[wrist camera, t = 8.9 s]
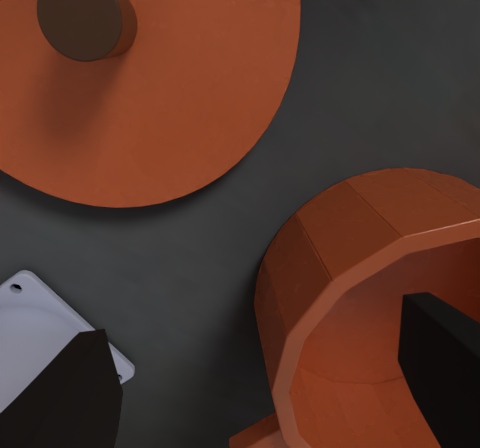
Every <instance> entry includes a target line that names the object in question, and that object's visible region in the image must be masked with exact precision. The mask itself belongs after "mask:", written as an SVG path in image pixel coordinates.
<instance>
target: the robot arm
mask: <svg viewBox="0 0 480 448" xmlns="http://www.w3.org/2000/svg"><path fill="white" fill-rule="evenodd" d="M13 284H17V285H19V286H20V287H21V288H22V289H17V288H15V287H14V285H13ZM397 360H398V363H399V365H400V368H401V370H402V373H403V375H404V378H405V380H406V382H407V385H408V387H409V389H410V392H411V394H412V396H413V399H414V401H415V402H416V404H417V406H418V408H419V410H420V411H421V413H422V415H423V417H424V419H425V420H426V422H427V424H428V426H429V427H430V429H431V431H432V433H433V435H434V436H435V438H436V440H437V442H438V443H439V445H440V447H441V448H480V323H479V322H477V321H475V320H474V319H472V318H471V317H469V316H467V315H466V314H464V313H463V312H461V311H459V310H458V309H456V308H455V307H453V306H451V305H450V304H448V303H446V302H445V301H443V300H441V299H440V298H438V297H436V296H435V295H433V294H431V293H429V292H422V293H413V294H405V295H403V299H402V311H401V323H400V335H399V347H398V359H397ZM134 371H135V366H134V365H133V364H132V363H131V362H130V361H129V360H128V359H127V358H126V357H125V356H124V355H122V354H121V353H120V352H119V351H118V350H117V349H116V348H115V347H114V346H113V345H111V344H110V343H109V342H108V339H107V336H106V332H105V329H101V330H95V329H94V328H93V327H92V326H91V325H90V324H89V323H87V322H86V321H85V320H84V319H83V318H82V317H81V316H80V315H79V314H78V313H76V312H75V311H74V310H73V309H72V308H71V307H70V306H69V305H68V304H67V303H66V302H64V301H63V300H62V299H61V298H60V297H59V296H58V295H57V294H56V293H55V292H53V291H52V290H51V289H50V288H49V287H48V286H47V285H46V284H45V283H44V282H43V281H41V280H40V279H39V278H38V277H37V276H36V275H35V274H34V273H32V272H31V271H27V270H22V271H20V272H18V273H16V274H15V275H14V276H12V277H11V278H9V279H8V280H7V281H5V282H4V283H3V284H1V285H0V448H114V445H115V441H116V437H117V432H118V425H119V419H120V412H121V404H122V396H123V390H122V387H121V384H122V383H124V382H125V381H127V380H129V379H130V378H131V377H133V375H134ZM118 374H119V375H121V376H118Z"/></svg>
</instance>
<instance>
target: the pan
mask: <svg viewBox="0 0 480 448" xmlns="http://www.w3.org/2000/svg"><path fill="white" fill-rule="evenodd" d="M422 292H429V293H431V294H433V295H435V296H436V297H438V298H440V299H441V300H443V301H445V302H446V303H448V304H450V305H451V306H453V307H455V308H456V309H458V310H459V311H461V312H463V313H464V314H466V315H467V316H469V317H471V318H472V319H474V320H475V321H477V322H479V323H480V189H478V188H476V187H475V186H473V185H471V184H469V183H467V182H465V181H463V180H462V179H460V178H458V177H455V176H452V175H446V174H442V173H438V172H434V171H430V170H425V169H415V168H389V169H383V170H377V171H371V172H367V173H364V174H361V175H357V176H354V177H351V178H349V179H346V180H344V181H342V182H340V183H337V184H335V185H333V186H331V187H330V188H328V189H326V190H324V191H323V192H321V193H319V194H318V195H316V196H315V197H314V198H312V199H311V200H310V201H308V202H307V203H306V204H304V205H303V206H302V207H301V208H300V209H299V210H298V211H297V212H295V213H294V214H293V215H292V216H291V217H290V218H289V219H288V221H287V222H286V223H285V224H284V225H283V227H282V228H281V229H280V230H279V232H278V233H277V234H276V236H275V238H274V239H273V241H272V242H271V244H270V246H269V247H268V249H267V252H266V254H265V256H264V258H263V260H262V263H261V266H260V269H259V273H258V276H257V282H256V289H255V298H254V302H253V303H254V310H255V315H256V320H257V325H258V330H259V335H260V340H261V345H262V350H263V355H264V360H265V365H266V370H267V375H268V380H269V385H270V391H271V395H272V399H273V403H274V407H275V411H276V412H274V413H272V414H271V415H269V416H267V417H265V418H264V419H262V420H260V421H258V422H257V423H255V424H253V425H251V426H250V427H248V428H246V429H245V430H243V431H241V432H239V433H238V434H236V435H234V436H232V437H231V438H229V447H230V448H441V447H440V445H439V443H438V442H437V440H436V438H435V436H434V435H433V433H432V431H431V429H430V427H429V426H428V424H427V422H426V420H425V419H424V417H423V415H422V413H421V411H420V410H419V408H418V406H417V404H416V402H415V401H414V399H413V396H412V394H411V392H410V389H409V387H408V385H407V382H406V380H405V378H404V375H403V373H402V370H401V368H400V365H399V363H398V360H397V359H398V347H399V335H400V323H401V311H402V299H403V295H405V294H413V293H422Z"/></svg>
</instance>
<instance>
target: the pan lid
mask: <svg viewBox="0 0 480 448" xmlns="http://www.w3.org/2000/svg"><path fill="white" fill-rule="evenodd" d="M300 10H301V2H300V0H0V169H1V170H2V171H3V172H5V173H7V174H8V175H10V176H12V177H14V178H15V179H17V180H19V181H21V182H22V183H24V184H26V185H28V186H30V187H33V188H35V189H37V190H40V191H42V192H44V193H46V194H49V195H52V196H55V197H58V198H61V199H65V200H68V201H71V202H76V203H81V204H86V205H92V206H100V207H114V208H124V207H141V206H147V205H153V204H159V203H163V202H167V201H170V200H173V199H177V198H180V197H183V196H185V195H187V194H190V193H192V192H194V191H196V190H199V189H201V188H203V187H204V186H206V185H208V184H209V183H211V182H213V181H214V180H216V179H218V178H219V177H221V176H222V175H223V174H225V173H226V172H227V171H228V170H230V169H231V168H232V167H233V166H235V165H236V164H237V163H238V162H239V161H240V160H241V159H242V158H243V157H244V156H245V155H246V154H247V153H248V152H249V151H250V150H251V149H252V148H253V147H254V145H255V144H256V143H257V141H258V140H259V139H260V137H261V136H262V135H263V133H264V132H265V131H266V129H267V128H268V126H269V124H270V123H271V121H272V119H273V117H274V115H275V114H276V112H277V110H278V108H279V106H280V104H281V102H282V99H283V97H284V94H285V92H286V89H287V87H288V85H289V81H290V78H291V74H292V70H293V67H294V63H295V60H296V54H297V47H298V40H299V34H300Z"/></svg>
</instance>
